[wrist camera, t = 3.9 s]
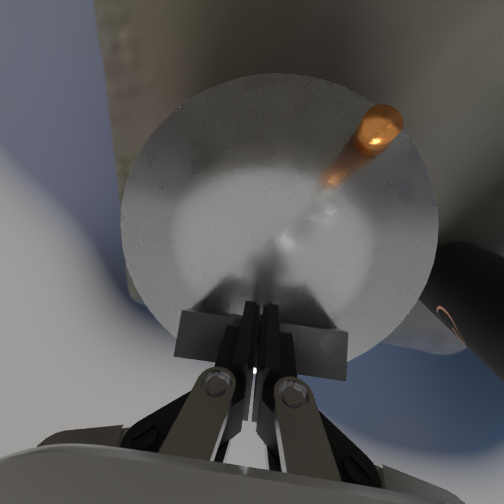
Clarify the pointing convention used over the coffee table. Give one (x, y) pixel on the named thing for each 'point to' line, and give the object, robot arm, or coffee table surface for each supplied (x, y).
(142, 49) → the coffee table surface
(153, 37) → the coffee table surface
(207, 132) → the cooker lid
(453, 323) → the coffee jar
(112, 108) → the coffee table surface
